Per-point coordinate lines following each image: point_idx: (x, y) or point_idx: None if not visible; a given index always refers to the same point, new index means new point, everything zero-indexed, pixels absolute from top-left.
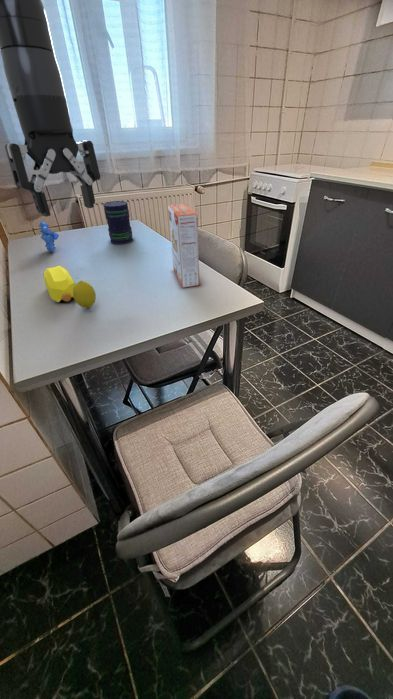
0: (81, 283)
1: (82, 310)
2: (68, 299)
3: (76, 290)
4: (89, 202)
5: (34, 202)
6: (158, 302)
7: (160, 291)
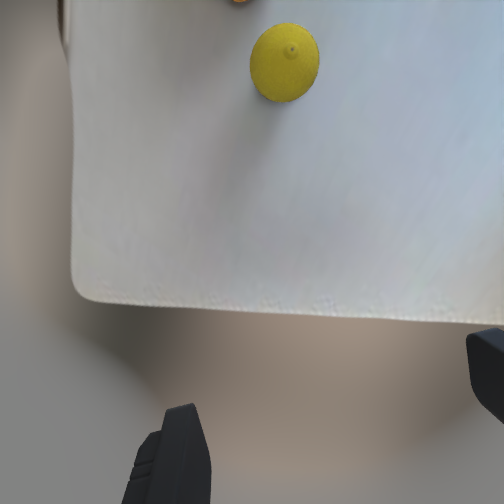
0: (289, 62)
1: None
2: (240, 1)
3: (263, 73)
4: (497, 411)
5: (128, 488)
6: (448, 174)
7: (494, 113)
